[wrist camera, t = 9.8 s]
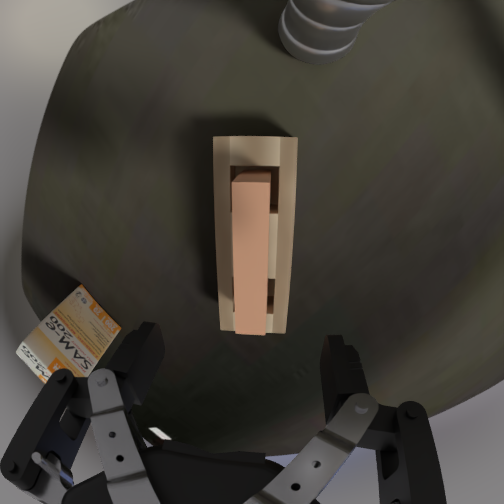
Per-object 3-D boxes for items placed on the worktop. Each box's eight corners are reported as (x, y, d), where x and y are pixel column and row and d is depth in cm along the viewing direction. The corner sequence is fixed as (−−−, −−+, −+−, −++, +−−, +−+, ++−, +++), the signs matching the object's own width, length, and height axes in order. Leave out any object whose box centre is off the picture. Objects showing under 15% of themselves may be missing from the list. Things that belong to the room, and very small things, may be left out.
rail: (293, 137, 23) (297, 137, 20) (284, 310, 30) (285, 333, 27) (222, 136, 24) (212, 136, 20) (226, 307, 31) (220, 329, 27)
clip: (270, 170, 24) (269, 182, 17) (267, 289, 29) (265, 335, 22) (243, 169, 24) (231, 182, 17) (244, 288, 29) (235, 333, 22)
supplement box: (123, 326, 34) (77, 397, 22) (106, 339, 35) (63, 403, 23) (82, 281, 31) (21, 341, 19) (68, 297, 33) (14, 354, 21)
